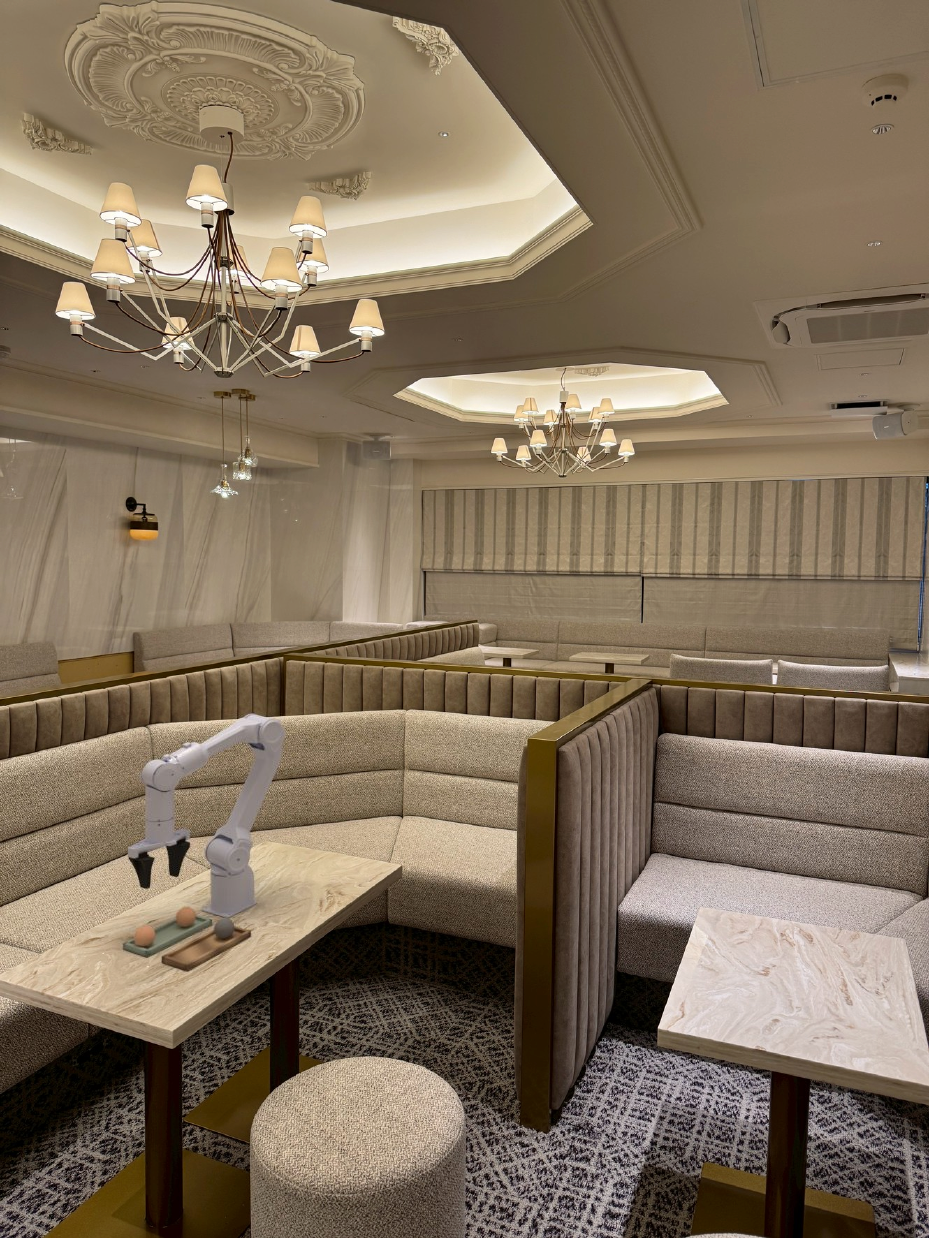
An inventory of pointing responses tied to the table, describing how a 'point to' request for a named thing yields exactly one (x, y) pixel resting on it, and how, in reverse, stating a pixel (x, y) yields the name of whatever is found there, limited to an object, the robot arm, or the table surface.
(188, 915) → the terracotta ball
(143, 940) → the terracotta ball
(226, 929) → the charcoal ball
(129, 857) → the robot arm
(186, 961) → the trough walnut
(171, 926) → the trough green
